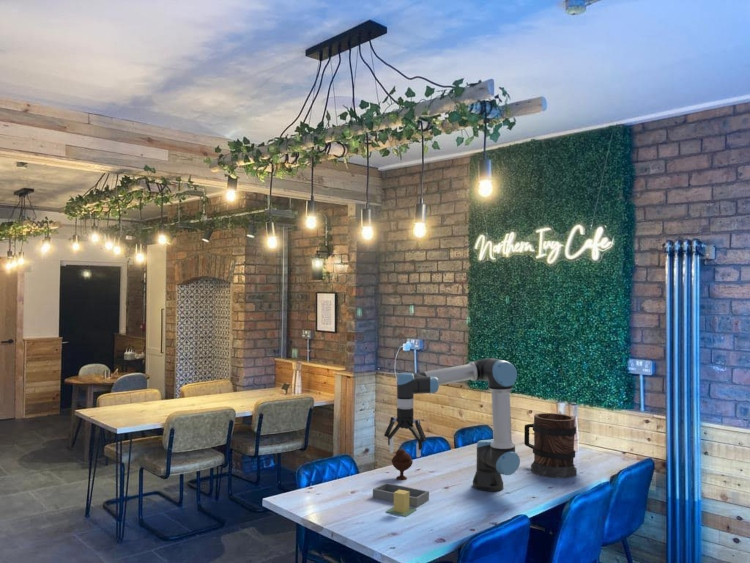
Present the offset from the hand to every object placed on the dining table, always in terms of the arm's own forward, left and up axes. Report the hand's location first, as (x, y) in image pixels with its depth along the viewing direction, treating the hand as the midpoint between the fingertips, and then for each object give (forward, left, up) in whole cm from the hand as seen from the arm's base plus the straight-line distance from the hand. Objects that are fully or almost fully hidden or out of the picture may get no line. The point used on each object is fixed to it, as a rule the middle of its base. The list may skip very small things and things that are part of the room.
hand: (405, 454), depth 280 cm
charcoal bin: (+4, -5, -23) cm, 23 cm away
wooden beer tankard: (-39, -96, -23) cm, 106 cm away
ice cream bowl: (+20, -35, -23) cm, 46 cm away
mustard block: (-4, +9, -22) cm, 24 cm away
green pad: (-4, +9, -23) cm, 25 cm away
